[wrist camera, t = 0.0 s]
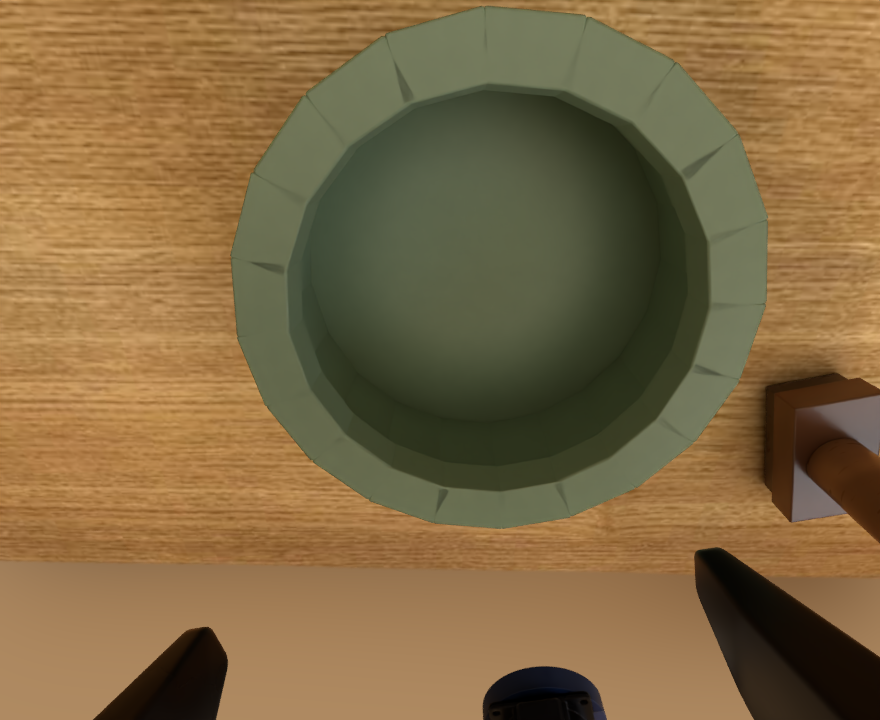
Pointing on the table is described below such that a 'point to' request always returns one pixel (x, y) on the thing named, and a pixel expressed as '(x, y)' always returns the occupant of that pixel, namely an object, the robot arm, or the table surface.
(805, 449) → the stamp
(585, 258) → the bowl
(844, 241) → the table surface
